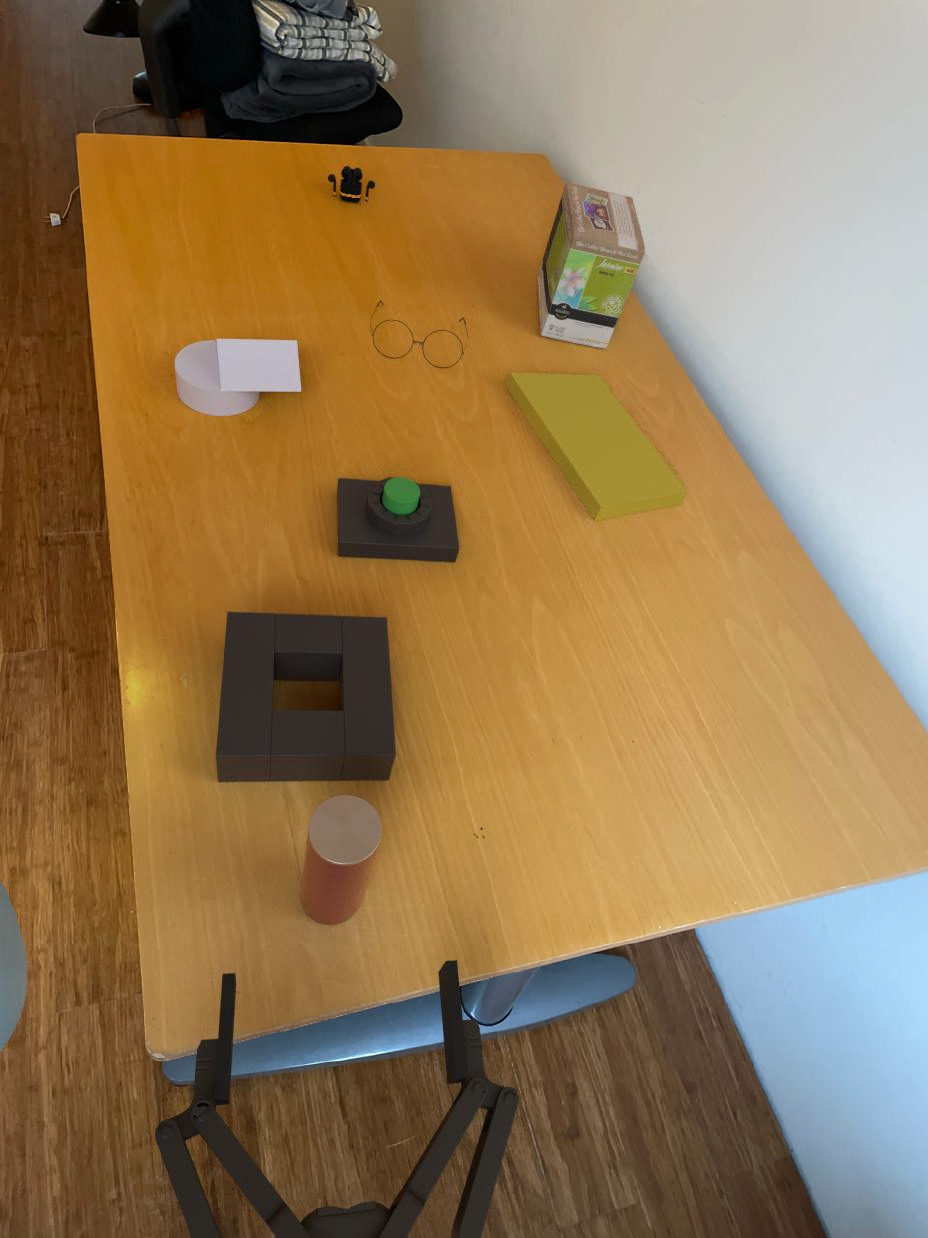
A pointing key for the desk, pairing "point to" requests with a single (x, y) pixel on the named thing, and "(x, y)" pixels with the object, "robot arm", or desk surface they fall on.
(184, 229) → the desk surface
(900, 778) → the desk surface
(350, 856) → the dark red cylinder
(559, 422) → the flat olive board
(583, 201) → the tea box
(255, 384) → the wedge on round base
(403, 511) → the button
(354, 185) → the wireless earbuds
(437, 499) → the panel
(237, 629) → the square peg hole block
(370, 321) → the eyeglasses
